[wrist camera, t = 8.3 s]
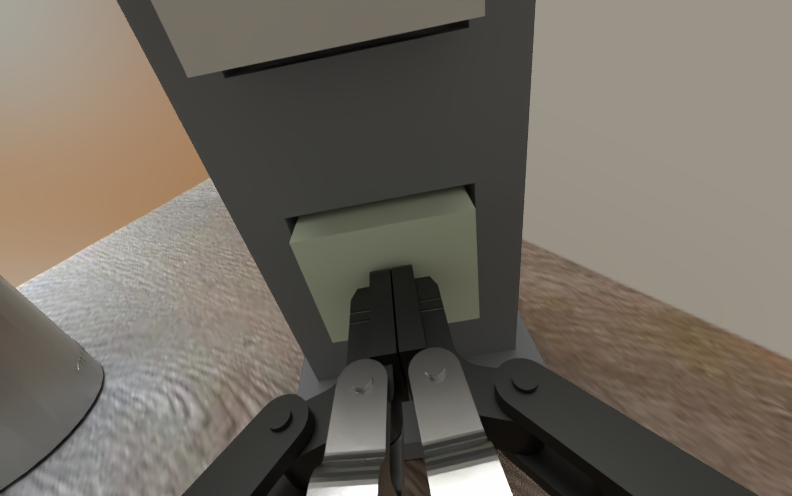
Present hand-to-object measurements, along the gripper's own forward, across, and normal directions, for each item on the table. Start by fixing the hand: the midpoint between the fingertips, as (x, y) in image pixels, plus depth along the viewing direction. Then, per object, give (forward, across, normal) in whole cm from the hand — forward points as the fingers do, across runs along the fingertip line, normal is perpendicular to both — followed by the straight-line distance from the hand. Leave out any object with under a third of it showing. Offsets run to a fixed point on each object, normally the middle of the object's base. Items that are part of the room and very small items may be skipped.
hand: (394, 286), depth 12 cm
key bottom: (+1, 0, +2) cm, 3 cm away
